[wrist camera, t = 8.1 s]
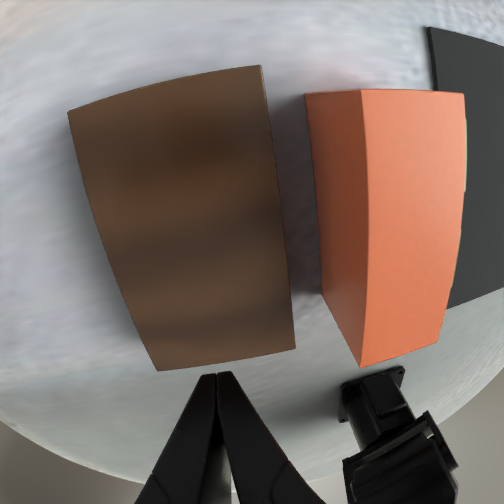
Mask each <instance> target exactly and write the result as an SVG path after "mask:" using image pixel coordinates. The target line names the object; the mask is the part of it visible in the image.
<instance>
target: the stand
mask: <svg viewBox="0 0 504 504" xmlns="http://www.w3.org/2000/svg"><path fill="white" fill-rule="evenodd" d="M67 114H68V119H69V124H70V129H71V134H72V138H73V143H74V147H75V151H76V155H77V159H78V163H79V167H80V171H81V175H82V178H83V182H84V186H85V189H86V193H87V196H88V200H89V203H90V206H91V209H92V213H93V216H94V219H95V222H96V225H97V228H98V231H99V234H100V237H101V240H102V243H103V246H104V249H105V252H106V254H107V257H108V260H109V263H110V265H111V268H112V271H113V273H114V276H115V278H116V281H117V283H118V286H119V288H120V291H121V293H122V296H123V298H124V301H125V303H126V305H127V308H128V310H129V313H130V315H131V317H132V319H133V322H134V324H135V326H136V328H137V331H138V333H139V335H140V337H141V339H142V342H143V344H144V346H145V348H146V350H147V352H148V354H149V356H150V358H151V360H152V362H153V364H154V366H155V368H156V370H157V371H167V370H175V369H183V368H190V367H198V366H204V365H211V364H218V363H224V362H230V361H236V360H242V359H247V358H253V357H258V356H263V355H268V354H274V353H278V352H283V351H288V350H293V349H295V348H296V345H295V334H294V323H293V312H292V302H291V292H290V282H289V272H288V263H287V253H286V244H285V235H284V227H283V218H282V210H281V202H280V194H279V186H278V178H277V170H276V163H275V155H274V148H273V140H272V133H271V126H270V119H269V112H268V106H267V99H266V92H265V86H264V79H263V73H262V67H261V65H253V66H245V67H238V68H231V69H225V70H218V71H213V72H207V73H201V74H196V75H191V76H186V77H182V78H177V79H173V80H168V81H164V82H160V83H156V84H152V85H148V86H144V87H141V88H137V89H133V90H130V91H127V92H123V93H120V94H117V95H113V96H110V97H107V98H104V99H101V100H98V101H95V102H92V103H89V104H86V105H84V106H81V107H78V108H76V109H73V110H70V111H68V112H67Z"/></svg>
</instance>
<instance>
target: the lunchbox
mask: <svg viewBox="0 0 504 504" xmlns="http://www.w3.org/2000/svg"><path fill="white" fill-rule="evenodd" d="M304 96H305V104H306V111H307V119H308V127H309V135H310V144H311V152H312V162H313V172H314V182H315V193H316V204H317V217H318V230H319V245H320V262H321V282H322V296H323V298H324V300H325V302H326V304H327V306H328V308H329V309H330V311H331V313H332V315H333V317H334V319H335V321H336V323H337V325H338V327H339V328H340V330H341V332H342V334H343V336H344V338H345V340H346V342H347V344H348V346H349V348H350V350H351V352H352V354H353V356H354V358H355V360H356V362H357V364H358V366H359V368H363V367H367V366H370V365H373V364H376V363H379V362H382V361H385V360H389V359H392V358H394V357H397V356H400V355H403V354H406V353H409V352H412V351H415V350H417V349H420V348H423V347H425V346H428V345H431V344H433V343H436V342H437V341H438V338H439V334H440V330H441V327H442V323H443V319H444V315H445V311H446V307H447V302H448V298H449V293H450V289H451V284H452V279H453V274H454V268H455V262H456V256H457V250H458V243H459V236H460V228H461V220H462V210H463V199H464V184H465V161H466V127H465V104H464V94H463V93H455V92H444V91H430V90H410V89H353V90H337V91H324V92H312V93H305V94H304Z"/></svg>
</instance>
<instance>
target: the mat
mask: <svg viewBox="0 0 504 504" xmlns="http://www.w3.org/2000/svg"><path fill="white" fill-rule="evenodd" d="M427 33H428V39H429V46H430V52H431V60H432V68H433V76H434V87H435V91H444V92H455V93H463V94H464V104H465V119H466V123H467V172H466V191H465V192H464V199H463V210H462V220H461V228H460V229H461V237H460V244H459V251H458V257H457V263H456V269H455V274H454V279H453V284H452V287H451V289H450V293H449V298H448V302H447V307H446V309H449V308H452V307H454V306H457V305H460V304H462V303H465V302H468V301H470V300H473V299H475V298H478V297H480V296H483V295H485V294H488V293H490V292H493V291H495V290H498V289H500V288H502V287H504V47H503V46H500V45H497V44H494V43H491V42H488V41H485V40H481V39H478V38H474V37H471V36H467V35H463V34H460V33H456V32H452V31H447V30H443V29H438V28H433V27H427Z"/></svg>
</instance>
